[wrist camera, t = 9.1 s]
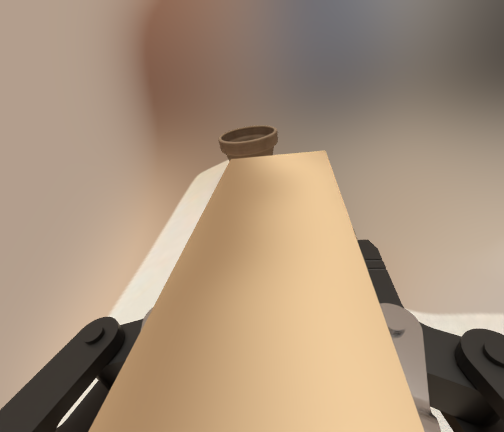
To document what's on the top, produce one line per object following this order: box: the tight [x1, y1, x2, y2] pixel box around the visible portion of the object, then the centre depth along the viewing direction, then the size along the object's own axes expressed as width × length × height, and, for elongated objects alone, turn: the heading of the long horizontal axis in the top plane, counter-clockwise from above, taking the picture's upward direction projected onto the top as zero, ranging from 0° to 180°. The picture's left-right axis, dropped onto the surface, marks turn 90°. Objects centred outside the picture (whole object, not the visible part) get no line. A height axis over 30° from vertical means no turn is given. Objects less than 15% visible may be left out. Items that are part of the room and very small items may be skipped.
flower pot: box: [219, 126, 278, 161], centre depth 51 cm, size 12×11×10 cm
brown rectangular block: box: [88, 151, 424, 432], centre depth 10 cm, size 4×12×10 cm, turn 173°
